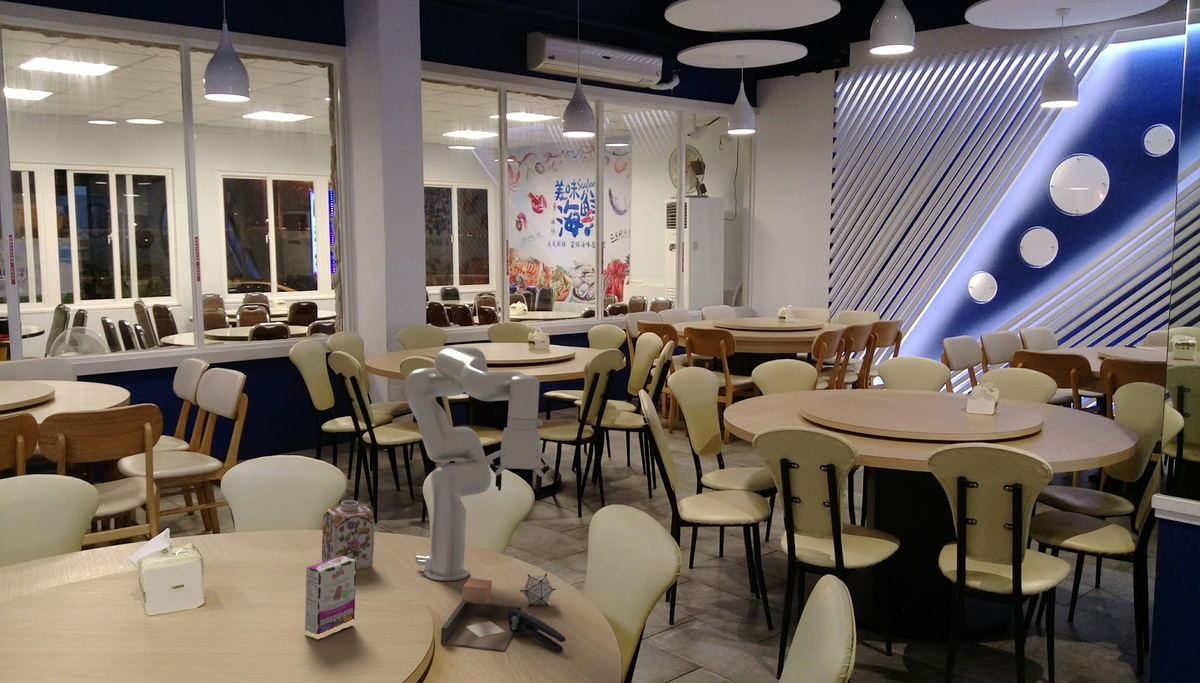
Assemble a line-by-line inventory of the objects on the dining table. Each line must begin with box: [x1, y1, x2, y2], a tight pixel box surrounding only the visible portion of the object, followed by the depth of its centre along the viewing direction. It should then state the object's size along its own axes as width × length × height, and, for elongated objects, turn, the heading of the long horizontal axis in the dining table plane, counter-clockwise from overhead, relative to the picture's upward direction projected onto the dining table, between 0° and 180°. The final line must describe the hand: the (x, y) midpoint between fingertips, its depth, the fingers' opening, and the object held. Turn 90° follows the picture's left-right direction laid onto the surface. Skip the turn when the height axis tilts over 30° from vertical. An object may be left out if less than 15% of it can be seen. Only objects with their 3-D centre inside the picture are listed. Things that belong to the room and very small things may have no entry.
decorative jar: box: [321, 500, 375, 570], centre depth 254 cm, size 12×12×18 cm
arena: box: [440, 599, 522, 652], centre depth 214 cm, size 15×18×4 cm
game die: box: [519, 572, 557, 608], centre depth 234 cm, size 9×8×10 cm
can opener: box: [508, 608, 566, 652], centre depth 212 cm, size 18×7×6 cm, turn 48°
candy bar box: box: [304, 556, 357, 634], centre depth 209 cm, size 11×5×16 cm, turn 148°
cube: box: [462, 577, 493, 603], centre depth 231 cm, size 6×6×6 cm
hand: (518, 490), depth 228 cm, fingers open, 9 cm apart
